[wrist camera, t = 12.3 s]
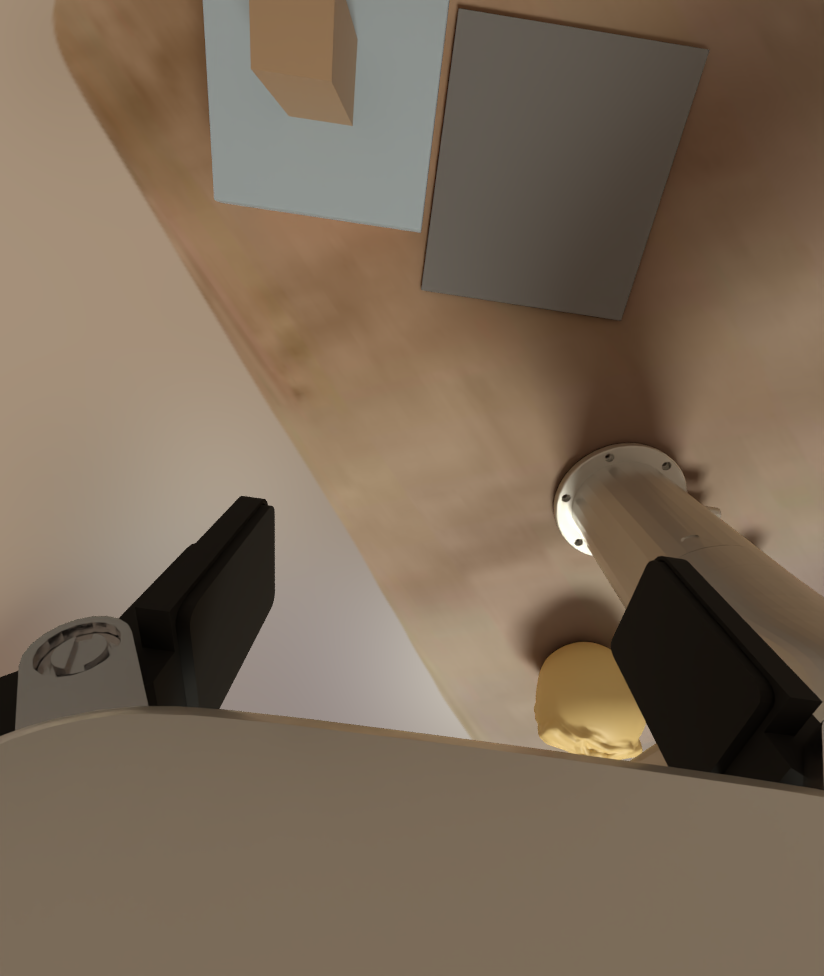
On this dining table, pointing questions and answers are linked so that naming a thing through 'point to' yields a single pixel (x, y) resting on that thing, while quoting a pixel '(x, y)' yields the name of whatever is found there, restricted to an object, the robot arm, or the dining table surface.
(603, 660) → the sculpture
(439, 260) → the mat
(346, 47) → the lid
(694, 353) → the dining table surface
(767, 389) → the dining table surface
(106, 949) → the robot arm
